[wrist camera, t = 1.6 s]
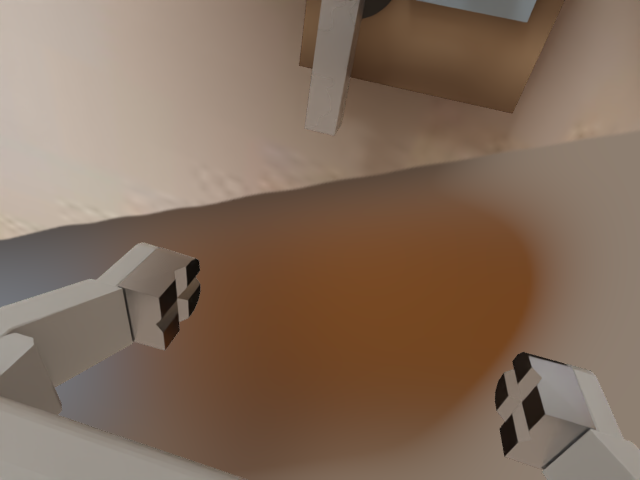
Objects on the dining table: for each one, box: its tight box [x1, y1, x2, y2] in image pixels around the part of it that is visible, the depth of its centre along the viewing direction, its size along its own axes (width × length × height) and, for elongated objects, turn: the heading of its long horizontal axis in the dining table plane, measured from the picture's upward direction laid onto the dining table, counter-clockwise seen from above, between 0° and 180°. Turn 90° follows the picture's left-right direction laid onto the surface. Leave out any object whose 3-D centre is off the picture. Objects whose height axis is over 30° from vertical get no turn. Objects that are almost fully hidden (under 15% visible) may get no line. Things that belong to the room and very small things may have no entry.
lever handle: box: [305, 0, 365, 136], centre depth 20 cm, size 10×3×3 cm, turn 170°
